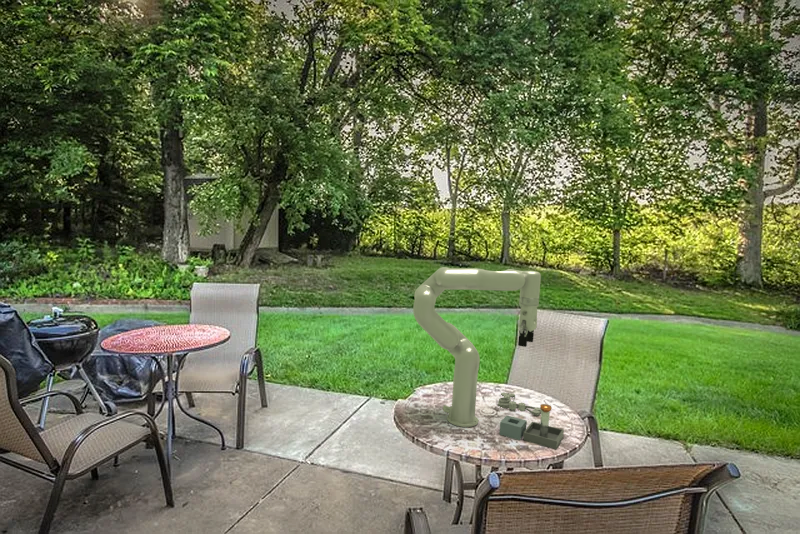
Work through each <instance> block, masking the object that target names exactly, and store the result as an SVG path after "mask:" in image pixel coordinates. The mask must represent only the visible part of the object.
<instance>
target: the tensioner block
mask: <svg viewBox="0 0 800 534" xmlns="http://www.w3.org/2000/svg"><path fill="white" fill-rule="evenodd" d="M527 421H528V420H527V419H522V418H518V417H514V416H510V415H505V416H504V418H502V420H501V421H500V423H499V432H498V434H500V436H503V435H504V436H503V437H506V436H507V437H508V438H511V439H514V440H518V441H521V439H523V433H524V431H525V430H526V429H527Z"/></svg>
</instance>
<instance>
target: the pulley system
mask: <svg viewBox="0 0 800 534" xmlns="http://www.w3.org/2000/svg"><path fill="white" fill-rule="evenodd" d="M501 395H502V397H499V398H498V401H497V407H499V406H500V407H499V408H501V407H502V408H501V409H505V408H509V410H512V411H514V410H516V409H518V411H519V410H520V412H525V411H527V412H528V413H530V414H532V415H534V416H535V417H536V416H537V417H538V416H540V415H541V409H540V406H539V407H536V406H529V405H526V403H525V402H518V404H517V402H516V401H515V398H516V394H515V393H514V392H512V393H511V392H510V393H509V392H508V393H507V392H500V396H501ZM503 396H504V397H503ZM513 397H514V398H513ZM511 398H513V401H512V400H511ZM531 409H532V410H531Z"/></svg>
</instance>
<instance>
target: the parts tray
mask: <svg viewBox="0 0 800 534" xmlns="http://www.w3.org/2000/svg"><path fill="white" fill-rule="evenodd" d="M564 431H565V430H564V429H563V428H558V427H555V426H551V425H549V426H548V438H545V437H541V436H539V434H540V422H539V423H538V422H536V421H531V422H530V423H529V425H528V426H526V430H525V431H524V433H523V437H522V441H525V442H529V443H532V444H536V445H539V446H543V447H546V448H550V449H554V450H557V449H558V448H559V446H560V443H561V442H562V440H563V439H564V433H565V432H564Z"/></svg>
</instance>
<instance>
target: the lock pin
mask: <svg viewBox="0 0 800 534" xmlns="http://www.w3.org/2000/svg"><path fill="white" fill-rule="evenodd" d="M539 408H540V409H541V413H540V422H539V424H540V434H539V436H541V437H545V438H548V426H550V425H549V423H550V415H551V413H550V412H551V411H552V406H551V405H550V404H546V403H540V406H539Z"/></svg>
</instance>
